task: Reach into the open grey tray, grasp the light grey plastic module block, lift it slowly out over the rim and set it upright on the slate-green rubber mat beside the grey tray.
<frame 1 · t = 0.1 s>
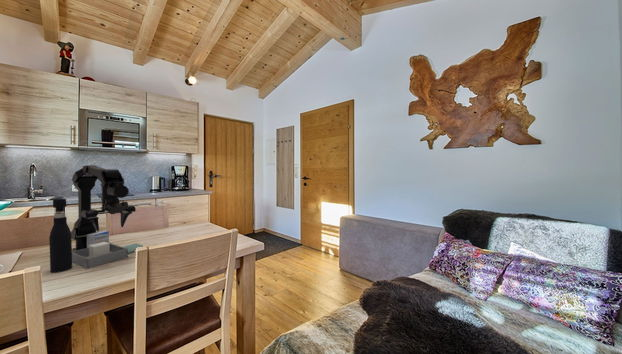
hand: (110, 229, 111), 15 cm above the table, tool pointing down, fingers open, 9 cm apart
module: (99, 251, 112), in the grey tray
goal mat: (132, 249, 125), on the table
medicine box: (98, 248, 125), on the table, touching arm
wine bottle: (61, 269, 100), on the table
grey tray: (99, 258, 112), on the table
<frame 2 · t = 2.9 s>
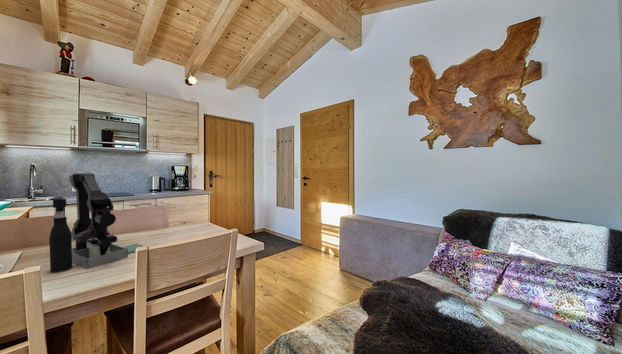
hand: (100, 255, 112), 2 cm above the table, tool pointing down, fingers closed on module, 4 cm apart
module: (99, 251, 112), in the grey tray, touching gripper
everything else where it was.
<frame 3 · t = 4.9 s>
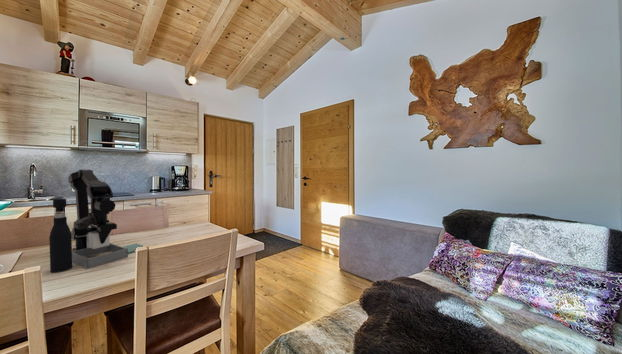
hand: (99, 242, 112), 8 cm above the table, tool pointing down, fingers closed on module, 4 cm apart
module: (99, 239, 111), point 10 cm above the table, touching gripper
everything else where it was.
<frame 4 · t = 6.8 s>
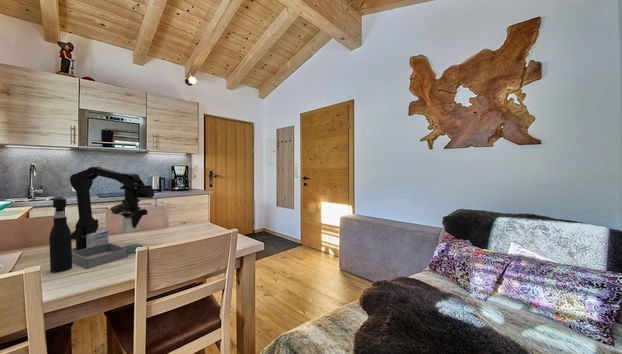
hand: (131, 227, 124), 12 cm above the table, tool pointing down, fingers closed on module, 4 cm apart
module: (131, 223, 124), point 14 cm above the table, touching gripper
medicine box: (97, 249, 125), on the table
everything else where it was.
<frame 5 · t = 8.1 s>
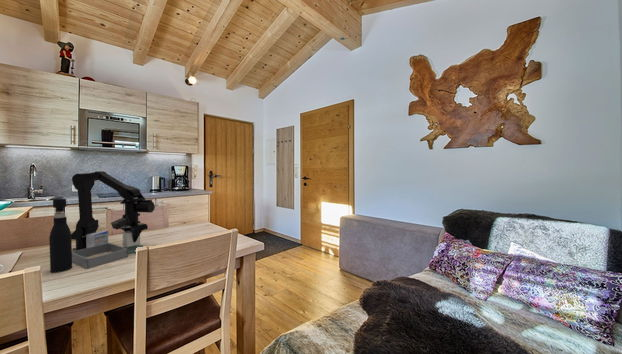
hand: (132, 241, 124), 4 cm above the table, tool pointing down, fingers closed on module, 4 cm apart
module: (131, 238, 124), point 6 cm above the table, touching gripper
everything else where it was.
when the fingers open (3 cm above the table, at t = 9.1 s): module stays where it is, resting on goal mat.
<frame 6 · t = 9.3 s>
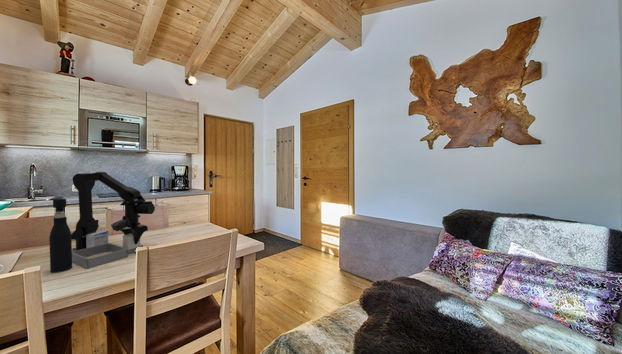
hand: (132, 242, 124), 3 cm above the table, tool pointing down, fingers open, 7 cm apart
module: (131, 241, 124), on the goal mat, point 4 cm above the table
everything else where it was.
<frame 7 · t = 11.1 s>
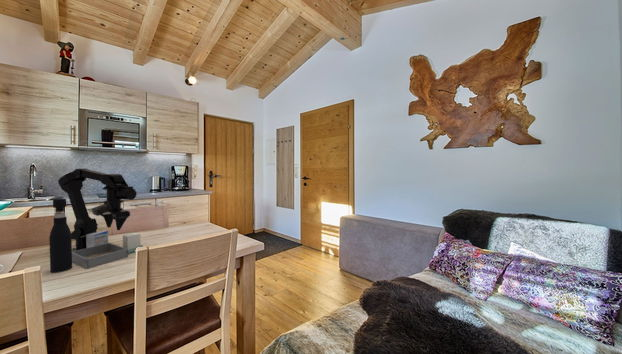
hand: (113, 228, 121), 12 cm above the table, tool pointing down, fingers open, 9 cm apart
nothing on the table moved.
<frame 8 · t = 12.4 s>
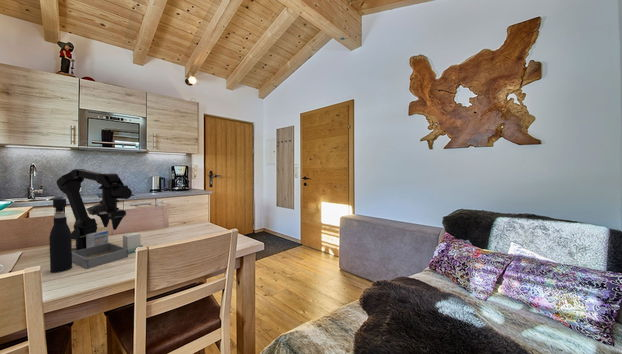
hand: (110, 228, 120), 12 cm above the table, tool pointing down, fingers open, 9 cm apart
nothing on the table moved.
at the end: module inside the target area on the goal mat (0.2 cm from its centre), point 4.5 cm above the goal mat's base; module tilted 0°; the gripper is holding nothing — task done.
